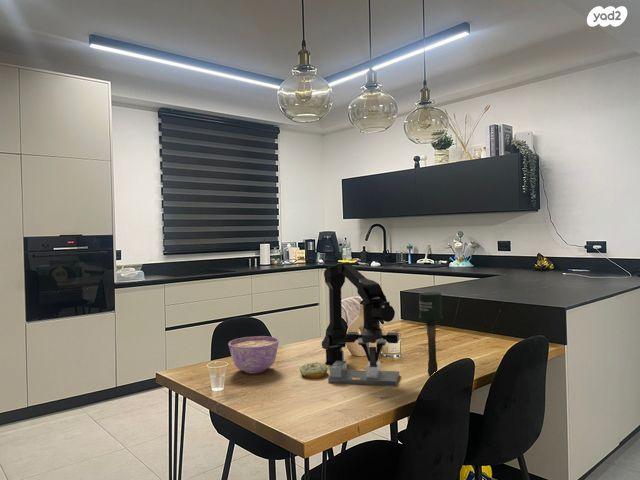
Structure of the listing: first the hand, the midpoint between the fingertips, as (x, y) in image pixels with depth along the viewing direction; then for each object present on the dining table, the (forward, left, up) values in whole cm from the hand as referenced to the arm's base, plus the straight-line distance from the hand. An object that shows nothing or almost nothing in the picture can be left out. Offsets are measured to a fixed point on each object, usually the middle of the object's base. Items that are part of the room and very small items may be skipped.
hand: (373, 361), depth 171 cm
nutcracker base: (-3, 0, -7) cm, 7 cm away
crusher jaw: (0, 0, -5) cm, 5 cm away
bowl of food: (-48, +5, -7) cm, 49 cm away
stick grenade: (+21, +8, -7) cm, 23 cm away
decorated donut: (-23, +3, -7) cm, 25 cm away
